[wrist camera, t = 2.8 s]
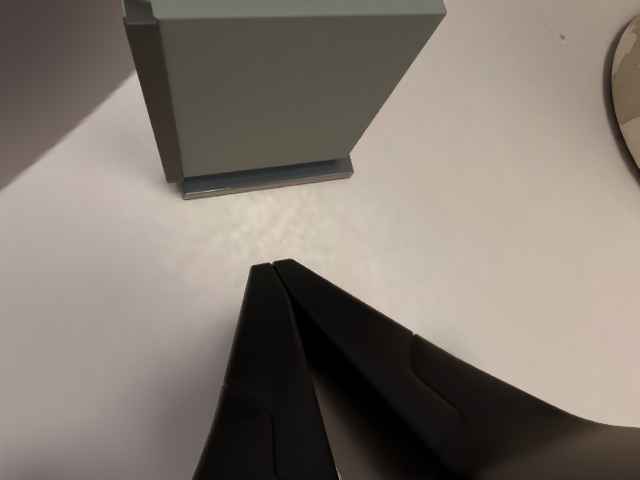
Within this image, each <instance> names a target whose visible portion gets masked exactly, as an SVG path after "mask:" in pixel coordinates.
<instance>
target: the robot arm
mask: <svg viewBox="0 0 640 480" xmlns="http://www.w3.org/2000/svg"><path fill="white" fill-rule="evenodd" d="M335 465H336V466H335ZM336 467H337V469H338V472H339V474H340V476H341V479H342V480H640V428H636V427H623V426H613V425H608V424H602V423H597V422H594V421H590V420H587V419H584V418H581V417H578V416H575V415H573V414H570V413H568V412H566V411H563V410H561V409H559V408H557V407H555V406H553V405H551V404H549V403H547V402H545V401H543V400H541V399H539V398H537V397H534V396H532V395H530V394H528V393H526V392H524V391H522V390H520V389H518V388H516V387H514V386H512V385H510V384H508V383H506V382H504V381H502V380H500V379H498V378H496V377H494V376H492V375H490V374H488V373H486V372H484V371H482V370H480V369H478V368H476V367H474V366H472V365H470V364H468V363H466V362H464V361H462V360H460V359H458V358H457V357H455V356H453V355H451V354H450V353H448V352H446V351H444V350H443V349H441V348H439V347H437V346H436V345H434V344H432V343H431V342H429V341H427V340H426V339H424V338H422V337H421V336H419V335H417V334H414V336H413V332H412V331H410V330H409V329H407V328H405V327H404V326H402V325H400V324H399V323H397V322H395V321H394V320H392V319H391V318H389V317H387V316H386V315H384V314H382V313H381V312H379V311H377V310H376V309H374V308H372V307H371V306H369V305H367V304H366V303H364V302H362V301H361V300H359V299H357V298H356V297H354V296H352V295H351V294H349V293H348V292H346V291H344V290H343V289H341V288H339V287H338V286H336V285H334V284H333V283H331V282H329V281H328V280H326V279H324V278H323V277H321V276H319V275H318V274H316V273H314V272H313V271H311V270H309V269H308V268H306V267H305V266H303V265H301V264H300V263H298V262H296V261H295V260H293V259H284V260H279V261H274V262H273V263H272V264H271V263H263V264H258V265H253V266H252V267H251V268H250V272H249V276H248V281H247V285H246V289H245V293H244V297H243V302H242V306H241V310H240V314H239V318H238V322H237V327H236V331H235V335H234V339H233V343H232V348H231V352H230V356H229V360H228V364H227V368H226V373H225V377H224V381H223V385H222V388H221V392H220V396H219V401H218V405H217V408H216V412H215V415H214V419H213V422H212V426H211V429H210V432H209V435H208V438H207V441H206V443H205V446H204V449H203V452H202V455H201V457H200V460H199V463H198V465H197V468H196V470H195V473H194V475H193V478H192V480H339V477H338V474H337V470H336Z"/></svg>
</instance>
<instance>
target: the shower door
mask: <svg viewBox="0 0 640 480" xmlns="http://www.w3.org/2000/svg"><path fill="white" fill-rule="evenodd" d="M120 3H121V9H122V15H123V21H124V26H125V30H126V34H127V38H128V41H129V45H130V48H131V52H132V56H133V60H134V63H135V67H136V71H137V74H138V78H139V81H140V85H141V89H142V92H143V96H144V100H145V103H146V107H147V111H148V114H149V118H150V122H151V125H152V129H153V132H154V136H155V140H156V143H157V147H158V151H159V154H160V158H161V162H162V165H163V169H164V173H165V176H166V180H167V182H168V183H171V182H179V181H184V179H185V178H184V177H192V176H200V175H208V174H217V173H225V172H233V171H241V170H250V169H258V168H266V167H274V166H282V165H291V164H299V163H307V162H315V161H324V160H332V159H340V158H346V157H347V156H348V155H349V153H350V152H351V151H352V149H353V148H354V146H355V145H356V143H357V142H358V141H359V139H360V138H361V136H362V135H363V133H364V132H365V130H366V129H367V128H368V126H369V125H370V123H371V122H372V120H373V119H374V117H375V116H376V115H377V113H378V112H379V110H380V109H381V107H382V106H383V105H384V103H385V102H386V100H387V99H388V97H389V96H390V94H391V93H392V92H393V90H394V89H395V87H396V86H397V84H398V83H399V82H400V80H401V79H402V77H403V76H404V74H405V73H406V71H407V70H408V69H409V67H410V66H411V64H412V63H413V61H414V60H415V58H416V57H417V56H418V54H419V53H420V51H421V50H422V48H423V47H424V46H425V44H426V43H427V41H428V40H429V38H430V37H431V35H432V34H433V33H434V31H435V30H436V28H437V27H438V25H439V24H440V23H441V21H442V20H443V18H444V17H445V15H446V13H447V11H446V8H445V5H444V2H443V0H120Z"/></svg>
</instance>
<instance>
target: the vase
mask: <svg viewBox="0 0 640 480" xmlns="http://www.w3.org/2000/svg"><path fill="white" fill-rule="evenodd" d="M611 82H612V96H613V102H614V107H615V112H616V116H617V119H618V123H619V126H620V129H621V132H622V134H623V137H624V139H625V142H626V144H627V147H628V149H629V151H630V153H631V155H632V156H633V158H634V160H635V162H636V164H637V166H638V167H639V169H640V13H639V14H638V15H637V16H636V17H635V18H634V19H633V21H632V22H631V23H630V24H629V25H628V27H627V28H626V30H625V32H624V33H623V35H622V37H621V39H620V42H619V44H618V47H617V49H616V52H615V56H614V60H613V65H612V78H611Z"/></svg>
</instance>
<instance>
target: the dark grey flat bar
mask: <svg viewBox="0 0 640 480" xmlns="http://www.w3.org/2000/svg"><path fill="white" fill-rule="evenodd" d="M353 173H354V171H353V167H352V163H351V159H350V155H348V156H347V157H346V158H340V159H332V160H324V161H315V162H307V163H299V164H291V165H282V166H274V167H266V168H258V169H250V170H241V171H233V172H225V173H217V174H208V175H200V176H192V177H184V178H185V179H184V181H180V184H181V190H182V195H183V199H184V200H186V199H193V198H201V197H208V196H215V195H223V194H230V193H238V192H245V191H252V190H260V189H267V188H274V187H282V186H289V185H296V184H304V183H311V182H318V181H326V180H333V179H340V178H348V177H351V176H352V175H353Z"/></svg>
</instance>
